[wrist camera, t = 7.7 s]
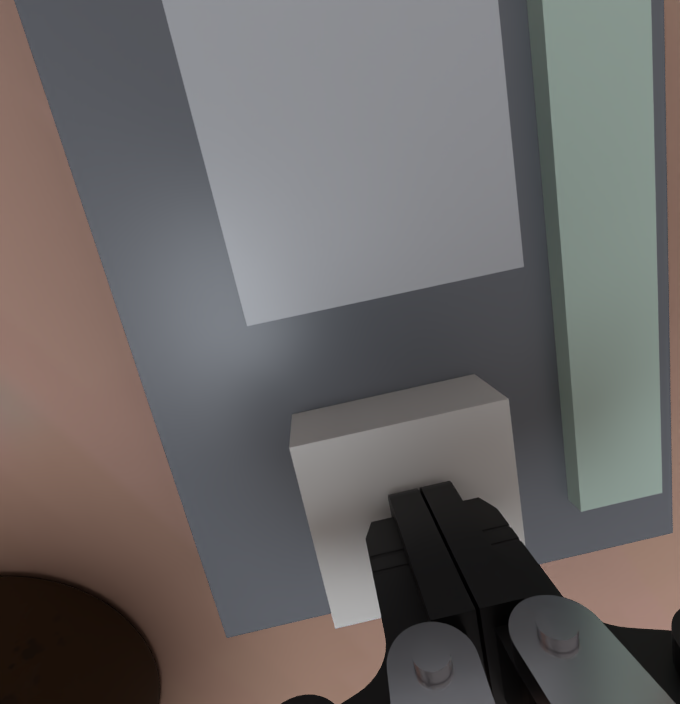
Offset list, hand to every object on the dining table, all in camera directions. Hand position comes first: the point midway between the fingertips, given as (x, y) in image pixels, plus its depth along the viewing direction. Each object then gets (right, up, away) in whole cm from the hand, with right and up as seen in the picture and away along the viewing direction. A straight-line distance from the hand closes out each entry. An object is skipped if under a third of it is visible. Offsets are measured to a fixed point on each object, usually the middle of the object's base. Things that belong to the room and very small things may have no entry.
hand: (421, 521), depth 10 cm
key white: (0, 0, +2) cm, 2 cm away
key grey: (-2, +8, -1) cm, 8 cm away
